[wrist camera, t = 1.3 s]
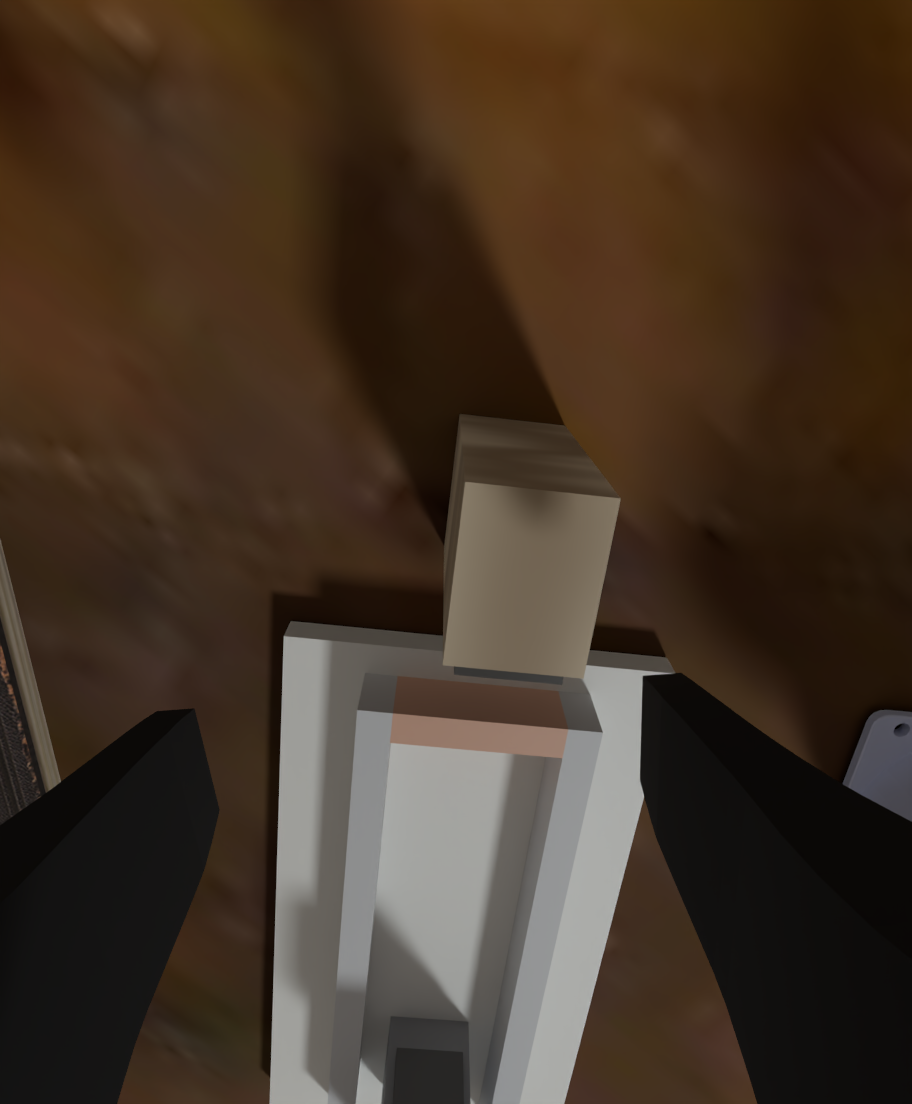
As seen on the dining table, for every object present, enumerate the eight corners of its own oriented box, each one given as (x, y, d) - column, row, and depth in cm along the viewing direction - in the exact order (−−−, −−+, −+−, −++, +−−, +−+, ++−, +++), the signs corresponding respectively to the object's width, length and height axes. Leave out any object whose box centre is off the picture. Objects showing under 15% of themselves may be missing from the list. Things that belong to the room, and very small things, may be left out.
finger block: (564, 425, 20) (620, 498, 14) (540, 571, 22) (579, 699, 15) (459, 413, 20) (465, 481, 14) (442, 561, 22) (440, 685, 15)
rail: (666, 657, 23) (771, 842, 15) (554, 1102, 31) (588, 1366, 23) (290, 620, 22) (211, 795, 15) (274, 1083, 30) (218, 1348, 23)
